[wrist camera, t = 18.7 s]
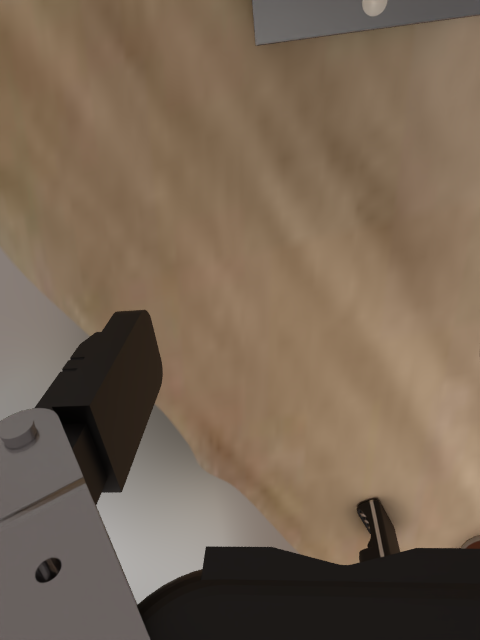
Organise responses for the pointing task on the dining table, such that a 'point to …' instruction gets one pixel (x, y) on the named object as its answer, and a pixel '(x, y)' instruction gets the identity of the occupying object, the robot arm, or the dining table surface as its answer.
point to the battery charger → (377, 531)
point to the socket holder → (347, 16)
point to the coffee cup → (472, 543)
